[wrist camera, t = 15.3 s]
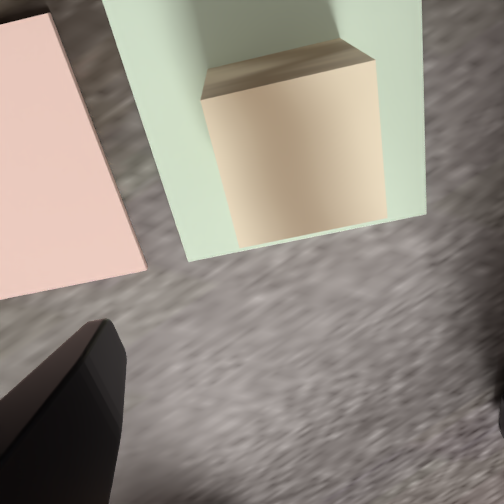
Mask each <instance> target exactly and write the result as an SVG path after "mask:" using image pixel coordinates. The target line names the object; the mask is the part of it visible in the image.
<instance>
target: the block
mask: <svg viewBox="0 0 504 504" xmlns="http://www.w3.org/2000/svg"><path fill="white" fill-rule="evenodd" d="M200 101H201V105H202V109H203V113H204V116H205V120H206V124H207V128H208V131H209V135H210V139H211V143H212V147H213V150H214V154H215V158H216V162H217V165H218V169H219V173H220V177H221V180H222V184H223V188H224V192H225V196H226V199H227V203H228V207H229V211H230V214H231V218H232V222H233V226H234V229H235V233H236V237H237V241H238V245H239V248H244V247H249V246H254V245H259V244H263V243H268V242H273V241H278V240H283V239H288V238H293V237H298V236H302V235H307V234H312V233H317V232H322V231H327V230H332V229H336V228H341V227H346V226H351V225H356V224H361V223H366V222H371V221H375V220H380V219H385V218H388V217H387V203H386V190H385V177H384V164H383V151H382V138H381V124H380V111H379V98H378V85H377V72H376V60H375V59H373V58H372V57H370V56H369V55H367V54H365V53H364V52H362V51H360V50H359V49H357V48H356V47H354V46H352V45H351V44H349V43H347V42H346V41H344V40H343V39H341V38H337V39H333V40H329V41H325V42H320V43H316V44H312V45H308V46H303V47H299V48H295V49H291V50H286V51H282V52H278V53H274V54H269V55H265V56H261V57H257V58H252V59H248V60H244V61H240V62H235V63H231V64H227V65H223V66H219V67H214V68H210V69H208V70H207V74H206V78H205V82H204V87H203V91H202V95H201V99H200Z"/></svg>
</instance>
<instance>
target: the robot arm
mask: <svg viewBox="0 0 504 504" xmlns="http://www.w3.org/2000/svg"><path fill="white" fill-rule="evenodd" d="M126 364H127V358H126V352H125V349H124V346H123V344H122V342H121V340H120V338H119V336H118V333H117V331H116V329H115V327H114V325H113V323H112V322H111V321H110V320H109V319H107V318H104V319H99V320H94V321H89V322H87V323H86V324H85V325H83V326H82V327H81V328H80V329H79V330H78V331H77V332H76V333H75V334H73V335H72V336H71V337H70V338H69V339H68V340H67V341H66V342H65V343H63V344H62V345H61V346H60V347H59V348H58V349H57V350H56V351H54V352H53V353H52V354H51V355H50V356H49V357H48V358H47V359H46V360H44V361H43V362H42V363H41V364H40V365H39V366H38V367H37V368H36V369H34V370H33V371H32V372H31V373H30V374H29V375H28V376H27V377H26V378H24V379H23V380H22V381H21V382H20V383H19V384H18V385H17V386H16V387H14V388H13V389H12V390H11V391H10V392H9V393H8V394H7V395H5V396H4V397H3V398H2V399H1V400H0V504H109V499H110V493H111V488H112V483H113V477H114V472H115V466H116V461H117V456H118V450H119V445H120V439H121V432H122V422H123V408H124V393H125V379H126ZM499 425H500V427H501V434H502V436H503V438H504V393H503V395H502V397H501V407H500V419H499Z"/></svg>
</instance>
